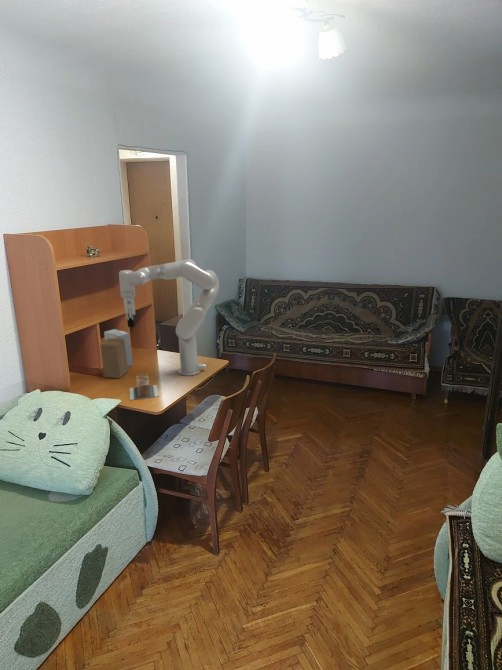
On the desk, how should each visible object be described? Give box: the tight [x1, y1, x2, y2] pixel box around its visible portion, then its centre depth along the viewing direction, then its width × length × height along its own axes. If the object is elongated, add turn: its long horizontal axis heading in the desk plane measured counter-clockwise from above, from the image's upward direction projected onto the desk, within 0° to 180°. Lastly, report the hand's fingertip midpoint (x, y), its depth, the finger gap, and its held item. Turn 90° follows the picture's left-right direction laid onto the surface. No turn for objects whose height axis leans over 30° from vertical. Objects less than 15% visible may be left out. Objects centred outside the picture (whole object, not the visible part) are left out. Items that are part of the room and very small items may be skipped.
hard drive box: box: [103, 328, 133, 368], centre depth 268 cm, size 16×8×20 cm, turn 49°
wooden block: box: [99, 339, 129, 379], centre depth 253 cm, size 10×10×20 cm
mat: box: [129, 384, 160, 401], centre depth 232 cm, size 14×14×1 cm
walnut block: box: [135, 374, 151, 398], centre depth 232 cm, size 6×6×14 cm
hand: (130, 326), depth 249 cm, fingers closed
